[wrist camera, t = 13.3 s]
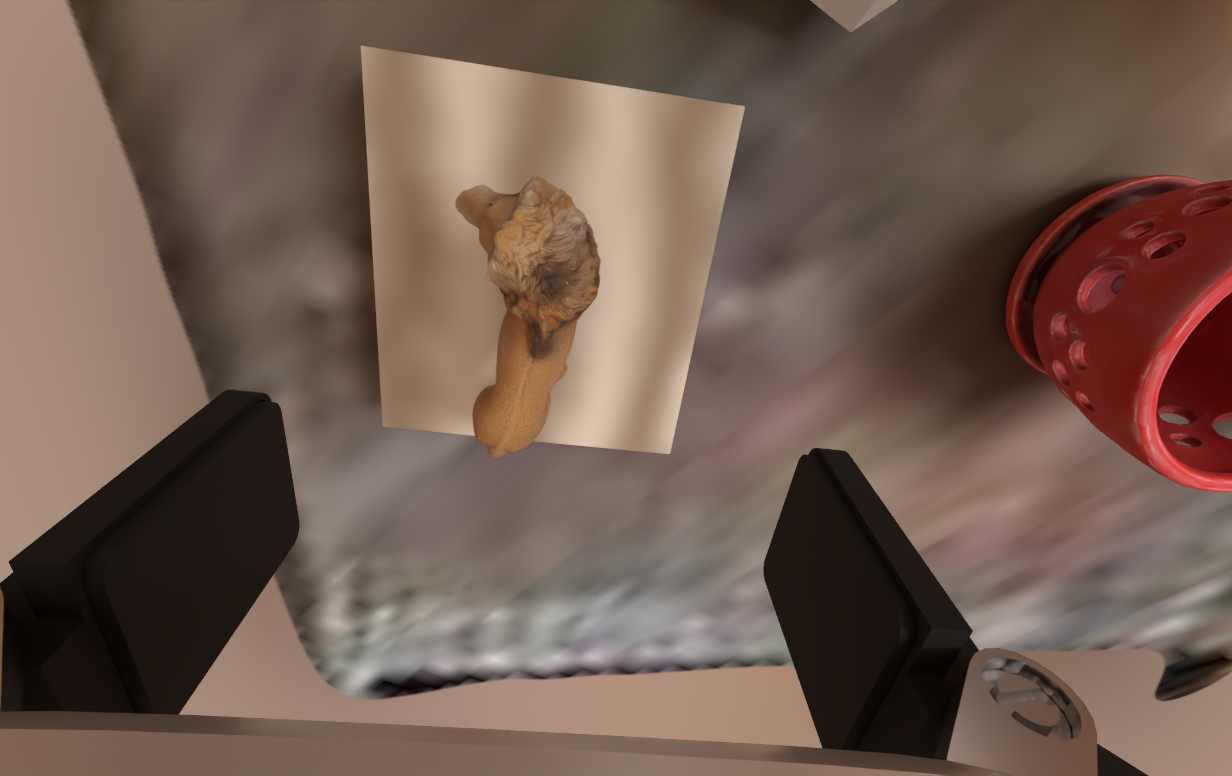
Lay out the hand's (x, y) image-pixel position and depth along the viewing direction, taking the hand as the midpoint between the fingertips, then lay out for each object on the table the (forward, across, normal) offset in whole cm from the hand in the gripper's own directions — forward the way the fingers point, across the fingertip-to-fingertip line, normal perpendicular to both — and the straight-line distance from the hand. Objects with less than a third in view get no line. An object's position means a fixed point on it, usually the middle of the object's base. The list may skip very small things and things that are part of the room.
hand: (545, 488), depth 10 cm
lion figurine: (+18, +2, +3) cm, 19 cm away
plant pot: (+23, -30, -1) cm, 37 cm away
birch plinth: (+22, +2, +2) cm, 23 cm away
